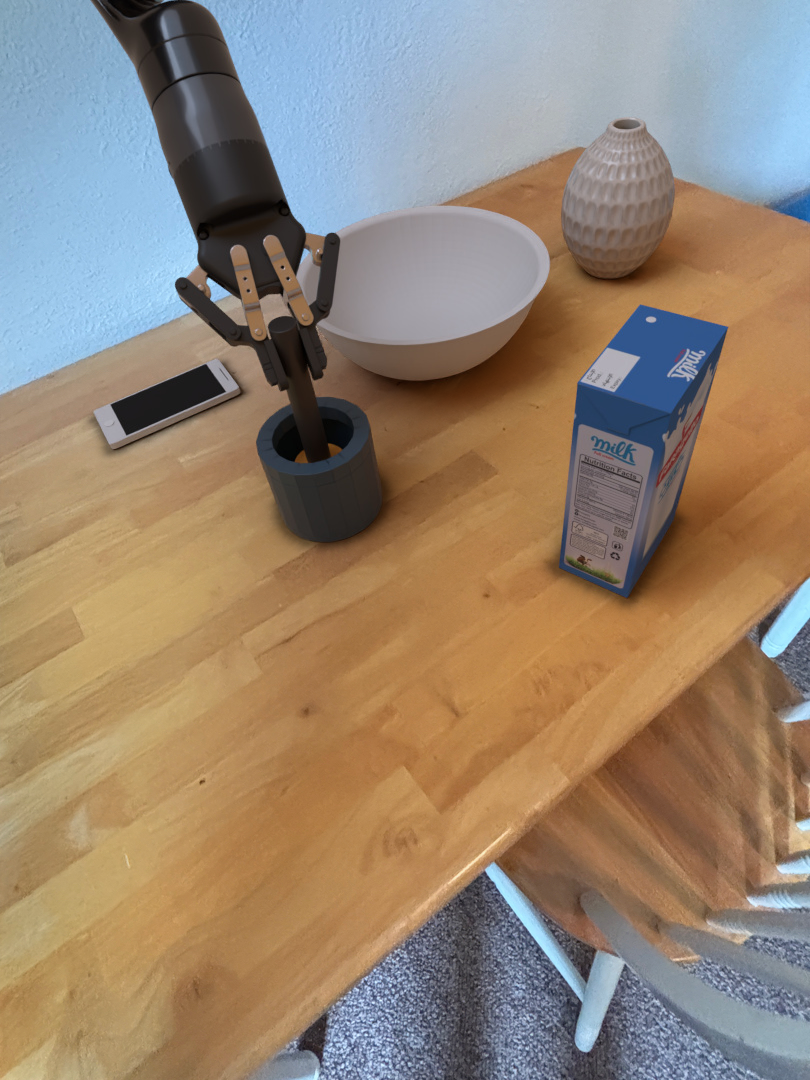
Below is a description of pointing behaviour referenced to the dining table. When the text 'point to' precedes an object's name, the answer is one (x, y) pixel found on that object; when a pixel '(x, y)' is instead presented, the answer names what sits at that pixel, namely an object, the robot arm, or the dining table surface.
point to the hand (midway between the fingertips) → (301, 382)
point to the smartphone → (165, 403)
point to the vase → (618, 200)
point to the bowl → (429, 289)
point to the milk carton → (635, 443)
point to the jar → (323, 473)
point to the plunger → (301, 391)
